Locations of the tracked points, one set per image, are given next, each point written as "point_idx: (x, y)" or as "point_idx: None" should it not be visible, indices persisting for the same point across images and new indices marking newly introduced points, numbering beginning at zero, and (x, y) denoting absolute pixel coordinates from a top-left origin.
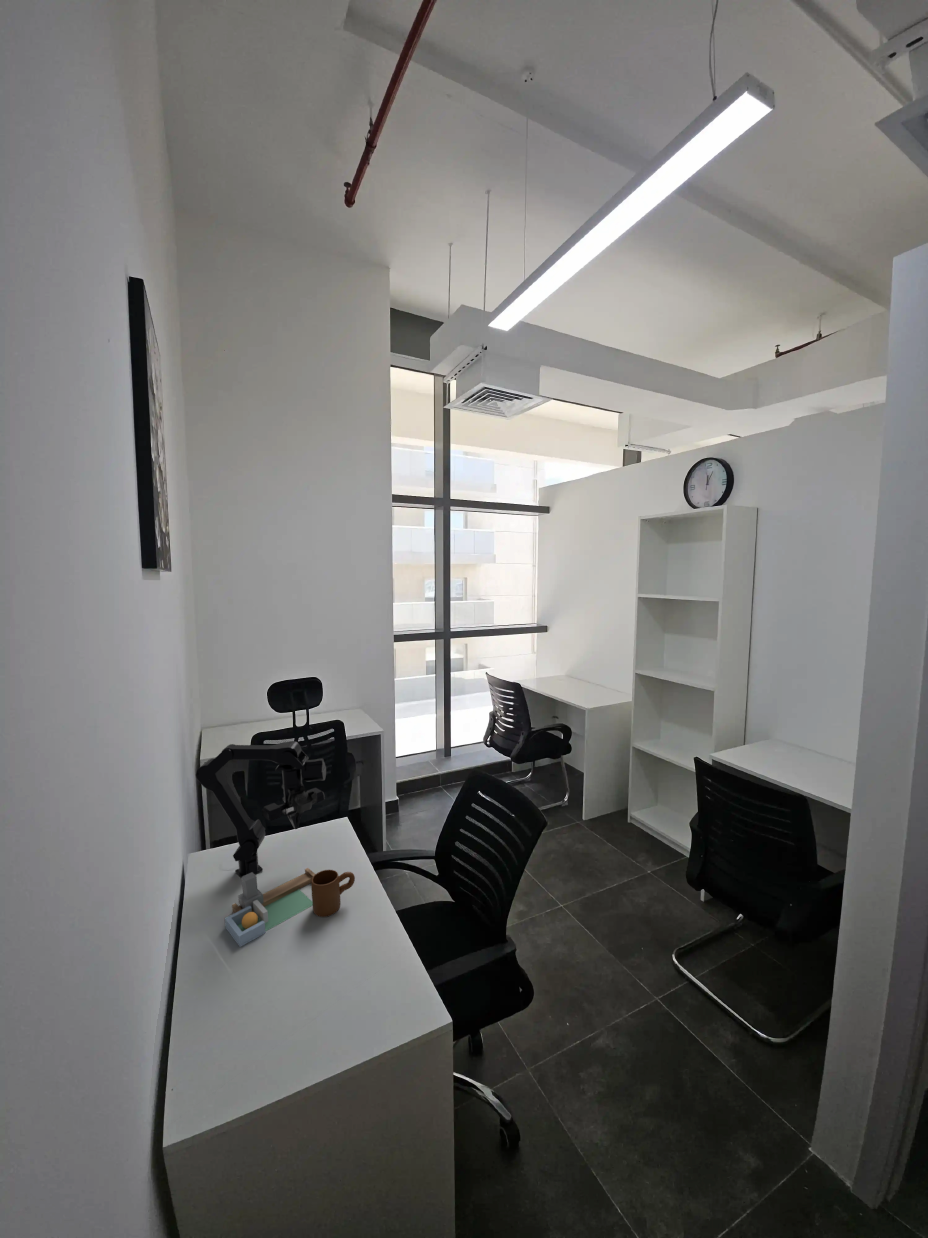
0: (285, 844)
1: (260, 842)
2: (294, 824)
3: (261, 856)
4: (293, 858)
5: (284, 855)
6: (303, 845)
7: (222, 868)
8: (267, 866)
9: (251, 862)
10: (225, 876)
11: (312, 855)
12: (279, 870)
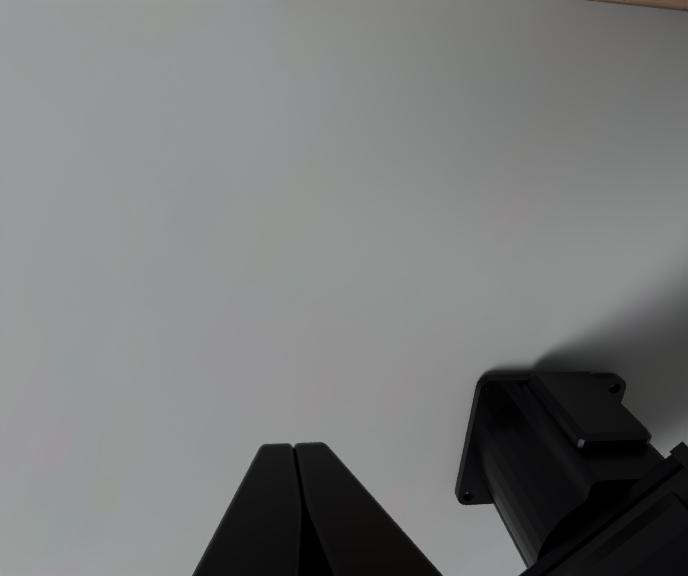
0: (180, 567)
1: (663, 563)
2: (397, 543)
3: None
4: (229, 360)
5: None
6: (70, 470)
7: None
8: (423, 405)
9: (626, 437)
10: None
11: (73, 277)
12: (399, 289)
